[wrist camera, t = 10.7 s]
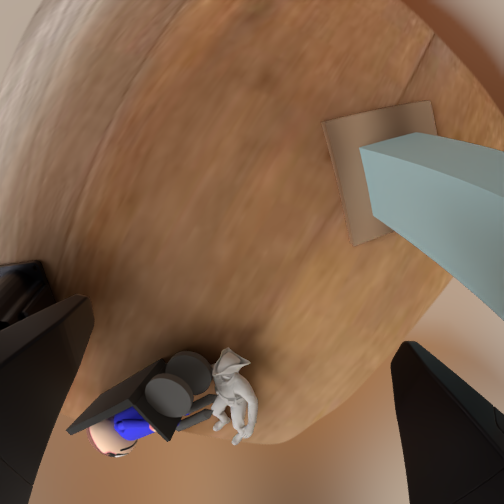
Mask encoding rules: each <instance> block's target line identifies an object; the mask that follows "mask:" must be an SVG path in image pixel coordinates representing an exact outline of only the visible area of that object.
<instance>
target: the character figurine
mask: <svg viewBox="0 0 504 504" xmlns="http://www.w3.org/2000/svg"><path fill="white" fill-rule="evenodd" d="M212 373H213V372H212V368H211V365H210V364H209V362H208V361H207V360H206V359H205V358H204V357H203V356H201V355H200V354H198V353H195V352H191V351H182V352H178V353H176V354H175V355H174V356H173V357H172V358H171V359H170V360H169V362H168V363H165V362H164V361H163V359H159V360H158V361H156V362H155V363H153V364H151V365H150V366H148V367H146V368H145V369H143V370H141V371H140V372H138V373H136V374H135V375H133V376H131V377H130V378H128V379H126V380H125V381H123V382H121V383H120V384H118V385H116V386H115V387H113V388H111V389H110V390H108V391H106V392H104V393H103V394H101V395H100V396H99V397H98V398H97V399H96V400H95V401H94V402H93V403H92V404H91V405H90V406H89V407H88V408H87V409H86V410H85V411H84V412H83V413H82V414H81V415H80V416H79V417H78V418H77V419H76V420H75V421H74V423H72V425H70V427H69V428H68V429H67V430H66V431H67V432H68V433H69V434H70V435H73V434H75V433H77V432H79V431H82V430H84V429H86V430H87V436H88V439H89V441H90V443H91V444H92V446H93V447H94V448H95V449H96V450H97V451H99V452H100V453H102V454H104V455H106V456H110V457H121V456H124V455H127V454H128V453H129V452H131V451H132V450H133V449H134V447H135V445H136V443H137V440H138V439H139V438H141V437H144V436H146V435H149V434H151V433H154V432H158V434H160V435H161V436H162V437H163V438H164V439H165V440H166V441H167V442H168V441H170V440H171V438H172V436H173V434H174V432H175V430H177V431H181V430H184V429H186V428H188V427H191V426H193V425H195V424H198V423H200V422H202V421H204V420H207V419H209V418H210V417H211V415H212V413H213V411H214V410H208V409H204V410H202V411H200V412H198V413H196V414H194V415H192V416H190V417H187V418H185V419H183V420H181V418H182V416H183V415H184V416H186V415H188V414H190V413H192V412H194V411H197V410H199V409H201V408H203V407H205V406H207V405H209V404H211V403H214V401H215V400H216V398H217V396H218V395H213V394H208V395H206V396H204V397H202V398H200V399H198V400H196V401H194V402H193V399H194V397H193V395H198V394H201V393H203V392H205V391H206V390H207V389H208V387H209V386H210V383H211V381H212V378H213V375H212Z"/></svg>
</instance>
